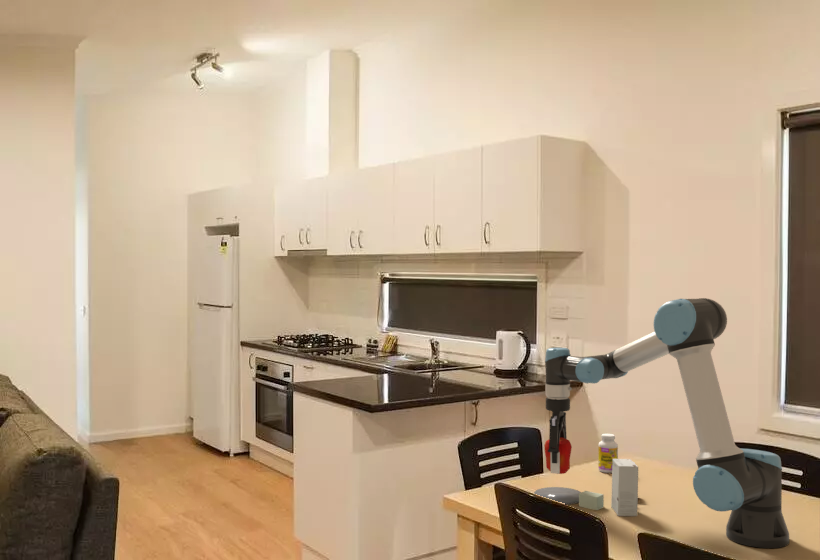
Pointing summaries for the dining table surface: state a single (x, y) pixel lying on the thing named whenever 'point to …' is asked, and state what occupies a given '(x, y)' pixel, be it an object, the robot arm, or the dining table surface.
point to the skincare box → (624, 487)
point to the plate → (560, 494)
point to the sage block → (591, 500)
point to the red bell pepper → (564, 455)
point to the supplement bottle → (607, 452)
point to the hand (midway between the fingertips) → (558, 469)
